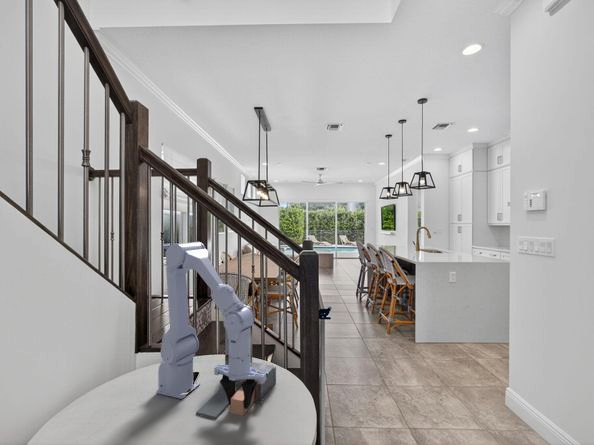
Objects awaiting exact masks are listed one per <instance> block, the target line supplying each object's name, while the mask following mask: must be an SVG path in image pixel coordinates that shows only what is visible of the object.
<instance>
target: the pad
mask: <svg viewBox="0 0 594 445" xmlns="http://www.w3.org/2000/svg"><path fill="white" fill-rule="evenodd" d="M227 406H228V407H229V406H230V405H229V402H228V399H227V395H226V392H225V390H224V388H223V387H221V388H220V389H218V391H217V392H215V394H213V395H212V396H211V397H210V398H209V399H208V400H207V401H206V402H205V403H204V404H203V405H201V407H199V408H198V409H197V410H196V412H195V414H196V415H197V414H199V415H198V416H201V415H202V416H201V417H205V418H210V419H212V420H217V419H218V417H219V416H220V415H222V413H223V412H224V411H225V410H226V409H227V408H228V407H227ZM226 407H227V408H226ZM225 408H226V409H225Z"/></svg>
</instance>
